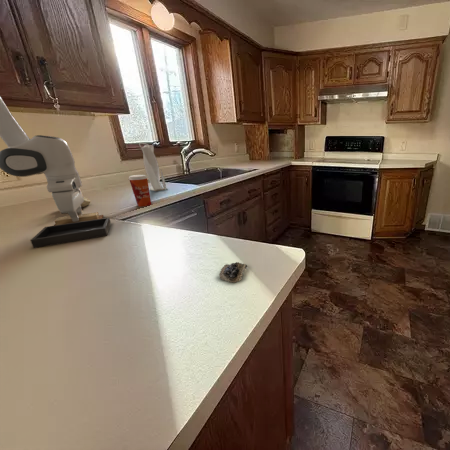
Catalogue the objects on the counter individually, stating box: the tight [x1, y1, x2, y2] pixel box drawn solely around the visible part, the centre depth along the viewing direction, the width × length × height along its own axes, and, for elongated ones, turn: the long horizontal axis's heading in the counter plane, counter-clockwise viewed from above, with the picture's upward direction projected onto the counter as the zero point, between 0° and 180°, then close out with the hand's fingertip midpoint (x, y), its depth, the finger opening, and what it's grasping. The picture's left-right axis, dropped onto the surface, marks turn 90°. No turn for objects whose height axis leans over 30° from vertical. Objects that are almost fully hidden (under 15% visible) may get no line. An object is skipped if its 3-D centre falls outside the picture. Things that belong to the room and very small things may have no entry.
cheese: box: [81, 197, 91, 208], centre depth 112 cm, size 15×7×15 cm
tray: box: [30, 217, 112, 249], centre depth 82 cm, size 18×14×3 cm
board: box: [54, 211, 100, 225], centre depth 93 cm, size 12×5×2 cm, turn 122°
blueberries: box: [218, 261, 248, 284], centre depth 56 cm, size 7×8×2 cm
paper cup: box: [128, 174, 152, 207], centre depth 115 cm, size 8×8×14 cm
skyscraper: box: [138, 142, 168, 193], centre depth 147 cm, size 8×8×28 cm
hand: (78, 218), depth 93 cm, fingers closed on board, 5 cm apart
